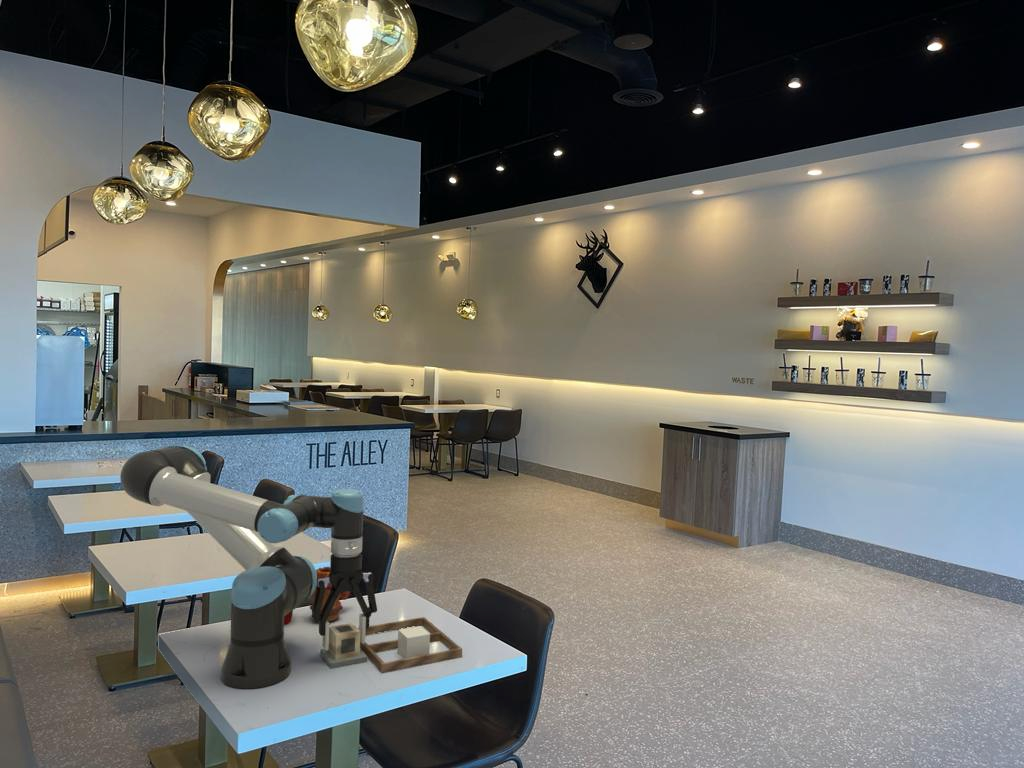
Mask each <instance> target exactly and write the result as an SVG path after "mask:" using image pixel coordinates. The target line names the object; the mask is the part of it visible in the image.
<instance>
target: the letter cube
mask: <svg viewBox="0 0 1024 768" xmlns="http://www.w3.org/2000/svg"><path fill="white" fill-rule="evenodd" d="M358 628H359V627H357V626H356V625H355V624H354V623H353V622H350V623H345V624H344V623H343V624H338V625H331V626H329V650H328V651H329V652H330V654H331V655H332V656H333V657H334V659H335V660H339V659H344V658H349V657H354V656H359V655H360V649H361V648H360V630H359V629H358Z"/></svg>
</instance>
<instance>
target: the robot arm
mask: <svg viewBox="0 0 1024 768" xmlns="http://www.w3.org/2000/svg"><path fill="white" fill-rule="evenodd" d="M206 464H207V463H206V460H205V458H204V456H203V454H201V453H200V451H198V450H197V449H196V448H194V447H191V446H189V445H169V446H166V447H164V448H163V447H162V448H159V449H152V450H145V451H141V452H138V453H136V454H134V455H131V456H130V457H129V458H128V460H126V462H125V463H124V464H123V466H122V467H121V471H120V474H119V475H120V476H119V477H120V483H121V487H122V489H123V491H124V492H125V493H126V494H127V495H128V496H129V497H130V498H132V499H134V500H136V501H138V502H140V503H141V502H142V503H143V504H147V505H150V506H155V507H161V506H164V505H166V506H170V507H173V508H176V509H180V510H183V511H186V513H188V514H189V515H190V516H191V517H192V518H193V519H194V520H195V521H196V522H197V523H198V524H199V525H200V527H202V528H203V530H205V531H206V532H207V533H208V534H209V535H210V536H211V537H212V538H213V539H214V540H215V541H216V542H217V544H219V545H220V546H221V547H222V548H223V549H224V551H226V552H227V553H228V554H229V555H230V556H231V557H232V559H234V560H235V562H237V564H239V565H240V566H241V567H242V569H244V571H243V572H241V573H239V574H238V575H236V577H235V578H234V579H233V581H232V586H231V592H230V644H229V646H228V649H227V651H226V655H225V658H224V660H223V663H222V666H221V676H220V677H221V681H222V683H224V684H226V685H227V686H229V687H233V688H237V689H257V688H259V689H260V688H264V687H268V686H272V685H274V684H277V683H280V682H282V681H284V680H285V679H286V678H287V677H288V676H289V675H290V674H291V671H292V661H291V657H290V654H289V651H288V647H287V644H286V641H285V625H284V616H286V615H287V614H288V613H290V612H291V611H293V612H294V610H295V609H297V608H299V607H300V606H303V605H304V604H305V603H306V602H307V601H308V600H309V599H310V598H311V597H312V595H314V591H315V589H316V586H317V587H318V588H317V593H316V597H315V602H314V601H313V604H314V606H313V611H312V610H311V616H310V617H311V619H312V620H313V622H314V623H315V622H316V623H318V633H319V636H321V637H322V642H321V644H322V648H323V649H325V650H329V627H330V621H329V622H328V621H327V618H328V616H329V614H330V612H331V610H332V608H333V605H334V603H335V601H336V599H337V597H338V596H339V594H340V593H343V592H346V591H349V592H350V593H351V592H353V594H354V597H355V599H356V601H357V603H358V605H359V607H360V609H361V611H362V613H359V615H358V617H359V619H358V620H359V621H358V624H359V625H358V628H359V630H360V642H361V643H362V644H363V643H365V642H366V635H365V633H366V628H369V626H370V618H371V617H372V614H373V613H374V614H375V613H377V612H378V606H377V605H378V604H377V599H376V594H375V589H374V584H373V583H374V579H375V575H374V574H373V573H372V572H371V571H367V572H363V571H362V567H363V564H362V563H363V554H362V551H363V534H364V533H363V530H364V526H363V525H364V512H365V507H364V495H363V492H362V491H361V490H359V489H355V488H341V489H336V490H333V492H332V493H331V494H332V496H327V497H326V496H317V495H308V494H292V495H289V496H287V498H286V500H284V502H283V504H282V503H279V502H276V501H271V500H270V499H269V500H268V499H266V498H262V497H259V496H255V495H251V494H249V493H245V492H242V491H238V490H235V489H230V488H228V487H226V486H221V485H219V484H214V483H211V474H210V473H209V471H208V468H207V465H206ZM310 528H319V529H320V528H322V529H330V553H331V554H330V565H329V567H330V574H329V576H328V577H327V578H324V579H321V578H318V579H317V573H316V570H317V569H316V568H315V565H314V563H312V561H310V560H309V559H308V558H306V557H304V556H302V555H292V553H290V551H289V550H287V548H286V547H284V546H274V544H279V543H282V542H285V541H288V540H290V539H291V538H293V537H295V536H297V535H299V534H300V533H302V532H305V531H307V530H309V529H310ZM362 579H363V581H364V583H365V590H366V595H367V601H368V605H367V603H366V601H365V598H364V596H363V594H362V591H361V589H360V587H359V584H360V583H361V581H362ZM329 582H330V583H331V584H332V588H331V590H330V594H329V596H328V598H327V600H326V603H325V605H324V607H323V609H322V611H321V608H322V603H323V599H324V594H325V588H326V587H327V584H328V583H329ZM320 612H321V613H320Z"/></svg>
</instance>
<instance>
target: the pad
mask: <svg viewBox="0 0 1024 768" xmlns="http://www.w3.org/2000/svg"><path fill="white" fill-rule="evenodd" d="M319 651H320V652H319V653H320V656H321V657H322V658H324V659H323V661H325V663H326V664H327V666H328V667H329V668H330V669H336V668H340V667H346V666H351V665H357V664H361V663H366V662H368V656H367V655H366V654H365V653H364V652H363V651H362V650H361V648H360V655H359V656H354V657H349V658H344V659H339V660H335V659H334V657H333V656H332V655H331V654H330V652H329V651H328V650H325V649H324V648H322V649H320V650H319Z"/></svg>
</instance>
